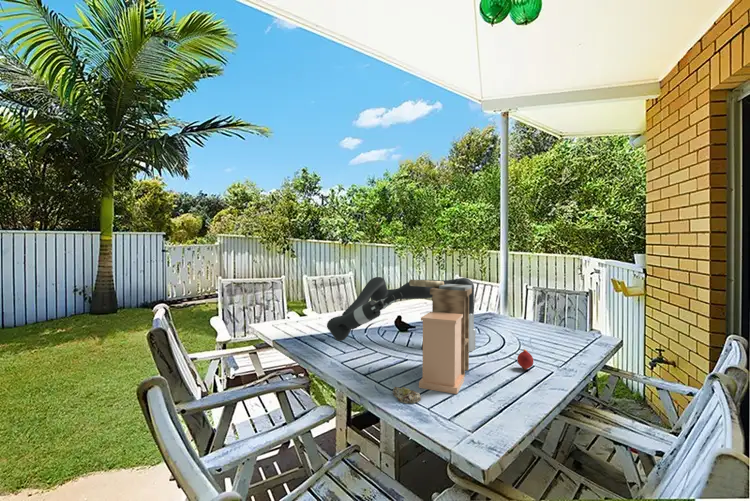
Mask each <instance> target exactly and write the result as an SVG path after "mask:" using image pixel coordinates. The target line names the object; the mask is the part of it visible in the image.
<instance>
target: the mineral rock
mask: <svg viewBox="0 0 750 501" xmlns="http://www.w3.org/2000/svg"><path fill="white" fill-rule="evenodd" d="M392 396H394V397H395V398H396V399H397V401H398V402H400V403H405V404H416V403H418V402H420V401H422V398H421V397H422V396H421V393H420V392H417V391H415V390H413V389H410V388H406V387H405V386H403V387H399V386H398V387H397V386H394V387H393V389H392Z"/></svg>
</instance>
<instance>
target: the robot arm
mask: <svg viewBox="0 0 750 501" xmlns="http://www.w3.org/2000/svg"><path fill="white" fill-rule="evenodd" d="M428 280H429V281H444V284H460V285H472V293H471V294H470V295H469V353H470V352H473V351H474V350H476V335H477V334H476V331H477V330H476V328H475V285H474V282H473V281H472V280H471V279H469V278H468V277H467V278H466V277H460V278H455V279H454V278H453V279H447V280H445V279H444V280H442V279H441V280H440V279H428ZM387 287H388V286H387V283H386V280H385V278H383V277H381V276H376V277H373V278H371V279H370V280H369V281H368V282H367V283H366V284H365V286H364V288H363V289H362V290H361V292H359V295H358V296H357V297H356V299H355V300H354V301H353V302H352V304H350V305H349V307H347V309H345V310H344V311H343V312H342V314H341V315H337V316H334V317H332V318H330V319H329V320H328V321H327V323H326V327H327V330H328V331H329V332H330V333H331V335H332V336H333V338H334V339H335V340H336V341H337V342H341V341H344V340H345V339H346V338H348V336H349V335H350V332H351V331H352V330H355V329H357V328H358V327H361V326H362V325H364V324H367V323H369V322H372V321H373V320H375V319H378V318H379V317H380V316H381V311H382V310H385V309H386V308H388V307H389V306H391V305H392V304H393V303H396V302H397V300H419V299H420V300H423V299H424V300H425V299H432V294H430V289H432V288H434V287H421V286H410V285H409V281H408V282H406V283H404V284H403V285H401V286H400V287H398V288H392V289H388V288H387Z"/></svg>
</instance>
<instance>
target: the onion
mask: <svg viewBox="0 0 750 501" xmlns="http://www.w3.org/2000/svg"><path fill="white" fill-rule="evenodd" d="M516 360H517V363H518V365H519V366H520V367H521V368H522V369H523V370H525V371H526V370H529V369H530V368H531V367H533V365H534V358H533V355H532V353H530V352H529V351H527V349H525V348H524V349H523V351H521V352H520V353H519V354H518V355H517V359H516Z"/></svg>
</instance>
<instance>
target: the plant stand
mask: <svg viewBox="0 0 750 501" xmlns="http://www.w3.org/2000/svg"><path fill="white" fill-rule="evenodd" d="M471 293H472V288H471V289H468V290H466V291H460V290H445V289H439V288H437V287H434V288H432V289H430V294H432V298H431V299H432V301H431V303H432V304H431V306H432V308H431V309H432V310H431V312H441V313H454V314H463V317H462V318H461V375H464V378H465V377H466V371H467V372H468V371H469V369H470V368H469V367H470V363H469V362H470V352H469V295H470V294H471Z"/></svg>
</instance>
